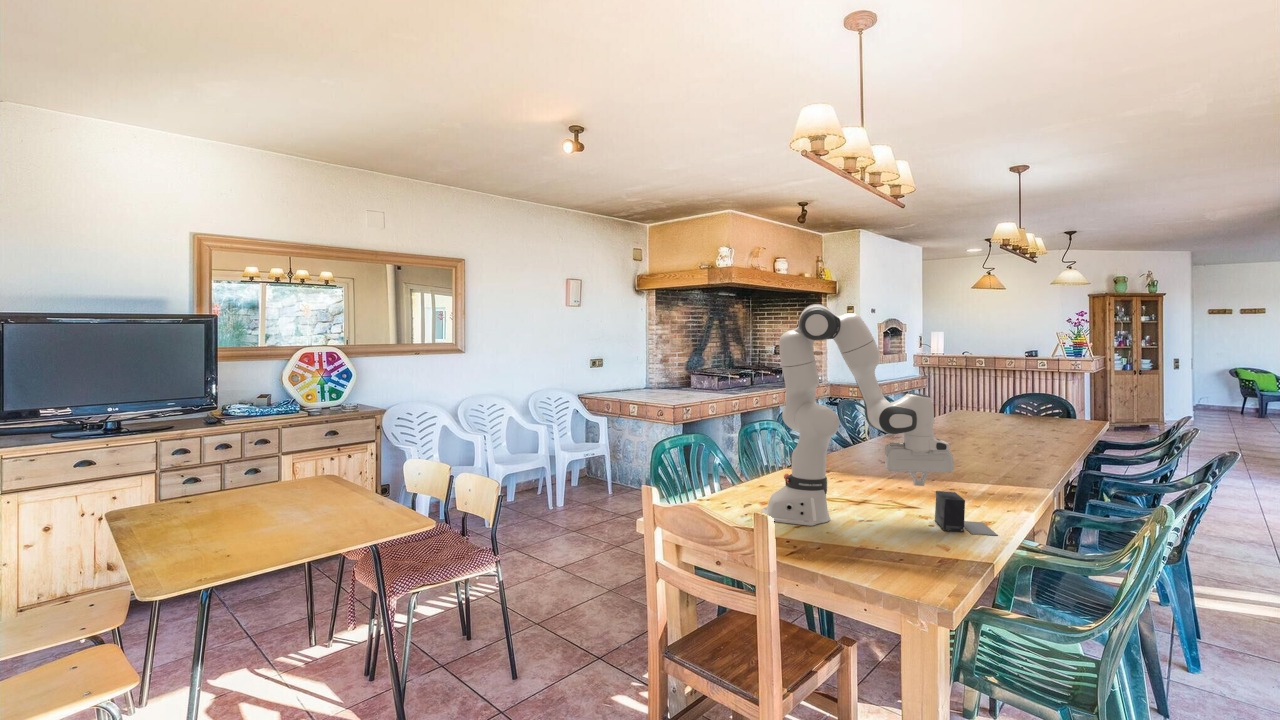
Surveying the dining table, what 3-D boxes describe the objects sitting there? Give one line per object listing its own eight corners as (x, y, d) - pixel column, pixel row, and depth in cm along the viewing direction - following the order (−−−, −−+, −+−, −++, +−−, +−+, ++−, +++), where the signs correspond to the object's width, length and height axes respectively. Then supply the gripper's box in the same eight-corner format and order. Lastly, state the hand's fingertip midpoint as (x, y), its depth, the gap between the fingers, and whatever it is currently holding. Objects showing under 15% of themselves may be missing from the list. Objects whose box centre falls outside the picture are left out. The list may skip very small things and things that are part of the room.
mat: (971, 534, 189) (971, 533, 189) (957, 521, 201) (957, 520, 201) (997, 535, 187) (997, 535, 187) (982, 523, 200) (982, 522, 200)
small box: (965, 533, 190) (966, 499, 190) (943, 531, 191) (944, 498, 191) (955, 522, 200) (956, 491, 200) (933, 521, 202) (934, 490, 201)
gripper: (886, 444, 195) (886, 486, 196) (955, 445, 191) (955, 488, 192) (882, 440, 202) (883, 482, 202) (949, 441, 198) (949, 483, 198)
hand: (918, 485), depth 197 cm, fingers closed
